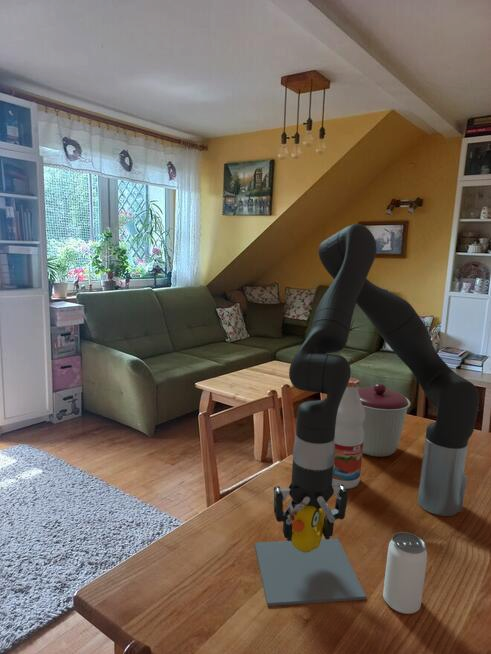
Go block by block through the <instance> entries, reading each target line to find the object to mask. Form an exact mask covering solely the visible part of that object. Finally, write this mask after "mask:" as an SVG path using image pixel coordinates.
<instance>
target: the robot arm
mask: <svg viewBox="0 0 491 654" xmlns="http://www.w3.org/2000/svg"><path fill="white" fill-rule="evenodd" d="M317 253H318V257H319V260H320V262H321V264H322V265H323V267H324V269H325V270H326V272H327V273H328V275H330V276H331V277H332V278H333V281H332V282H331V284H330V285H329V287H328V288H327V289H326V291H325V292H324V294H323V296H322V298H320V301H319V303H318V305H317V307H316V310H315V312H314V316H313V321H312V324H311V327H310V331H309V333H308V335H307V336H306V338H305V340H304V341H303V343H302V344H301V345H300V347H299V348H298V350H297V351H296V353H295V354H294V356H293V358H292V359H291V362H290V365H289V369H288V374H289V375H288V376H289V380H290V383H291V385H292V386H293V387H294V388H295V389H297V390H300V391H306V392H311V393H318V394H325V395H326V398H324V399H319V400H307V401H305V402H302V403H300V404H299V406H298V408H297V412H296V428H295V436H294V441H293V448H292V449H293V450H292V464H291V465H292V468H291V481H290V482H291V483H290V484H289V487H286V488H285V487H284V488H281V487H280V486H279V485H276V486H274V487H273V512H274V516H275V519H276V521H277V522H278V523H281V522H283V525H282V533H283V536H284V539H286V541H291V539H292V532H293V528H292V523H293V521H294V516H295V515H297V513H298V512H299V511H301V510H303V508H304V507H305V506H314V507H315V508H317V510H319V509H321V510H322V511H323V513H324V525H323V535H322V536H323V537H324V539H331V537H332V536H333V535H334V534H333V533H334V528H335V527H334V526H335V524H334V523H335V522H336V520H344V519H345V518H346V511H347V504H348V499H349V498H348V497H349V491H348V490H347V489H346V488H345V487H344V485H343V484H340V485H339V486H338V487H334V486H332V480H333V468H334V456H335V426H336V417H337V412H338V408H339V405H340V402H341V399H342V397H343V394H344V392H345V389H346V387H347V385H348V382H349V379H350V378H351V373H352V370H351V365H350V363H349V361H348V359H346V357H344V356H343V355H338V354H332V353H337V352H340V351H342V350H344V348H345V347H346V346H347V343H348V339H349V334H350V329H351V325H352V320H353V315H354V311H355V307H356V305H357V306H358V307H359V309H360V310H361V311H362V312H363V314H365V316H366V317H367V318H368V320H369V321H370V323H371V324H372V325H373V327H374V328H375V329H376V331H377V332H378V334H379V335H380V336H381V338H382V339H383V340H384V342H385V343H386V344H387V345H388V346H389V348H390V349H391V350H392V351H393V352H394V353H395V355H396V356H397V357H398V358H399V359H400V360H401V362H403V364H405V365H406V367H408V369H409V370H410V371H411V373H412V375H414V377H415V379H416V381H417V382H418V384H419V385H420V387H421V389H422V390H423V392H424V394H425V396H426V398H427V400H428V401H429V402H430V403H431V404H432V405H433V406H434V407H436V408H437V413H436V418H435V419H436V420H435V422H430V423H428V425H427V426H426V431H425V438H424V445H423V446H424V447H423V455H422V463H421V470H420V471H421V472H420V479H419V485H418V486H419V487H418V495H417V502H418V505H419V507H421V508H422V509H423V510H425V511H426V512H428V513H431V514H434V515H436V516H442V517H450V516H455V515H456V514H457V513H459V512H462V511H463V505H464V500H465V499H464V498H465V491H466V485H467V480H468V479H467V478H468V475H467V474H466V473H465V472H464V471H465V466H466V458H467V450H468V445H469V439H470V438H471V437H472V435H473V433H474V430H475V426H476V420H477V416H478V411H479V406H480V404H479V403H480V394H479V393H480V392H479V391H478V387H476V385H475V384H474V383H472V382H471V381H470V380H468V379H466V378H464V377H463V376H461V375H459V374H457V373H456V372H455V371H454V370H453V369H452V368H451V367H450V366H449V365H447V363H446V362H445V361H444V360H443V359H442V357H441V356H440V355H439V353H437V351H436V349H435V347H434V344H433V341H432V337H431V335H430V332H429V330H428V328H427V326H426V324H425V323H424V321H423V320H422V318H421V317H420V315H419V314H418V313H417V311H416V310H415V308H414V307H413V305H412V304H410V303H409V302H408V300H406V299H404V298H402V297H400V296H399V295H397V294H395V293H393V292H390V291H388V290H386V289H385V288H384V289H383V288H382V287H379V286H378V285H376V284H374V283H373V282H372V281H370V280H369V279H368V275H369V273H370V270H371V269H372V266H373V264H374V261H375V258H376V255H377V242H376V239H375V237H374V235H373V233H372V231H371V230H370V229H369V228H368V227H366V226H365V225H364V224H362V223H361V224H360V223H353V224H351V225H348V226H346V227H344V228H343V229H341V230H339V231H337V232H336V233H334V234H333V235H330V236H329V237H327V238H326V239H325V240H324V241H322V242H321V243H320V244H319V246H318V252H317ZM333 495H334V496H335V505H334V509H331V508H330V506H329V505H328V501H329V500H330V499H331V497H332V496H333ZM288 496H289V497H290V498H291V499H290V501H288V506H287V507H286V509H285V510H284V502H286V500H287V497H288Z"/></svg>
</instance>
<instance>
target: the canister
mask: <svg viewBox="0 0 491 654" xmlns="http://www.w3.org/2000/svg"><path fill="white" fill-rule="evenodd" d="M358 392H359V396H360V400H361V403H362V405H363V407H364V409H365V420H364V422H363V429H364V442H363V452H362V454H364V455H367V456H370V457H378V458H379V457H381V458H383V457H388V456H391V455H393V454H394V453H395V452H396V451H397V449H398V447H399V444H400V440H401V437H402V432H403V429H404V424H405V420H406V416H407V412H408V409H409V408H410V406H411V401H410V400H409V399H408V398H407V397H406V396H404V395H403V394H401V393H400V392H398V391H396V390H393V389H389V388H387V387H386V385H384V383H380V382H378V383H376V384H374V386H364V387H359V388H358Z"/></svg>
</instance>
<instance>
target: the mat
mask: <svg viewBox="0 0 491 654" xmlns="http://www.w3.org/2000/svg"><path fill="white" fill-rule="evenodd" d="M254 549H255V554H256V559H257V563H258V568H259V573H260V577H261V578H260V579H261V581H262V588H263V591H264V592H263V593H264V597H265V601H266V605H267V607H274V606H275V607H277V606H287V605H290V606H291V605H305V604H315V603H332V602H346V601H359V600H360V601H361V600H367V595H366V593H365V591H364V589H363V587H362V585H361V583H360V581H359V578H358V576H357V575H356V572H355V571H354V568H353V566H352V564H351V562H350V560H349V558H348V556H347V554H346V552H345V550H344V548H343V546H342V544H341V542H340V539H339V538H330V539H325V538H322V539H321V543H320V545H319V547H318V548H317V549H313V550H312V551H311V552H308V553H304V552H301V551H299V550H297V549H296V548H295V547H294V546H293V544H292V541H287V540H279V541H262V542H261V541H260V542H259V541H258V542H254Z"/></svg>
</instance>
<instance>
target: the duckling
mask: <svg viewBox="0 0 491 654" xmlns="http://www.w3.org/2000/svg"><path fill="white" fill-rule="evenodd" d="M324 516H325V513H324V511H323V510H322V508H320V509H319V510H317V508H315V507H314V506H305V507H304V508H303V510H301V511H299V512H298V513H297V515H295V516H294V520H293V522H292V539H291V541H292V544H293V546H294V547H295V548H296V549H297V550H299V551H301V552H304V553H308V552H311V551H312V550H313V549H317V548H318V547H319V545H320V543H321V539H323V536H324V535H323V525H324Z"/></svg>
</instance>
